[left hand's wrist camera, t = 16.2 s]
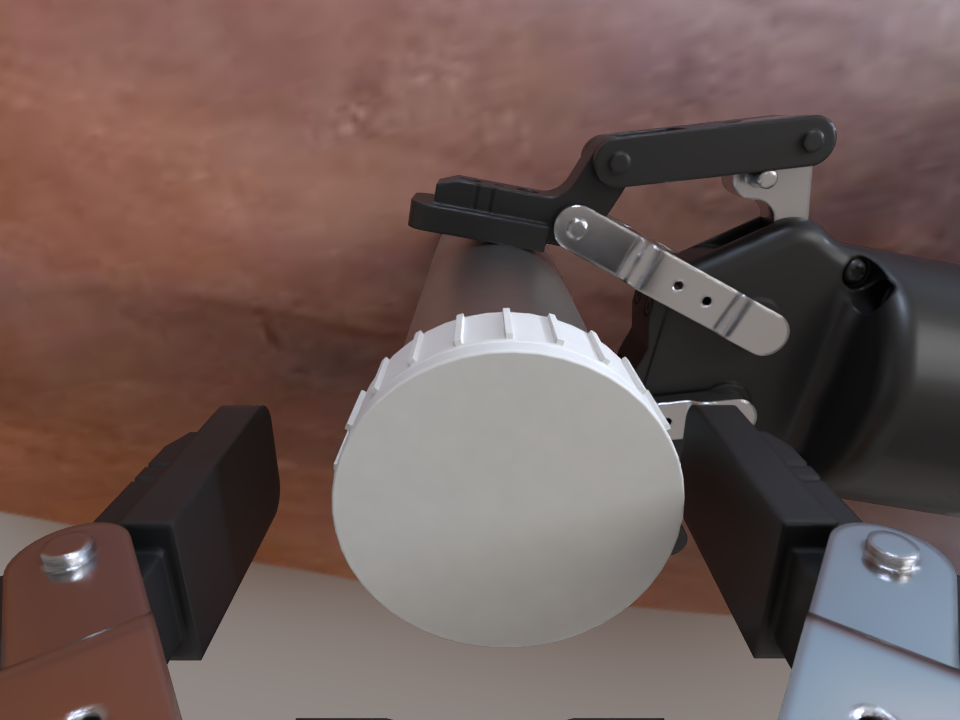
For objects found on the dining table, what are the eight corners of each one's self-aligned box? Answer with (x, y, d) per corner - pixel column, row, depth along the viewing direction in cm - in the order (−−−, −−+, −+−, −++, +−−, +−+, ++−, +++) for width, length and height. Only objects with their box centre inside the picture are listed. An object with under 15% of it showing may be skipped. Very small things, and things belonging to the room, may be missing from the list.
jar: (413, 266, 25) (307, 505, 10) (484, 180, 23) (491, 297, 8) (496, 333, 26) (517, 643, 11) (568, 254, 24) (708, 477, 9)
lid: (572, 612, 12) (587, 691, 10) (308, 521, 11) (279, 590, 9) (717, 381, 10) (762, 432, 8) (415, 253, 9) (401, 283, 8)
